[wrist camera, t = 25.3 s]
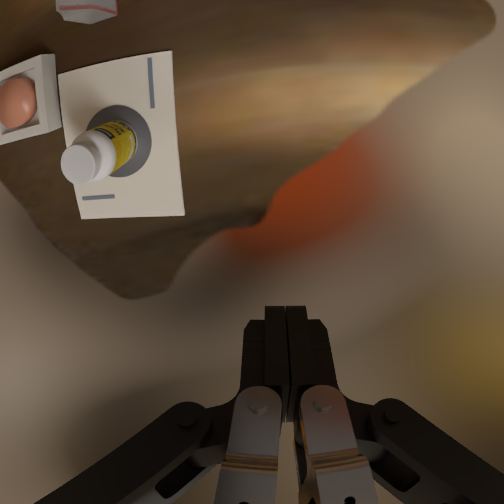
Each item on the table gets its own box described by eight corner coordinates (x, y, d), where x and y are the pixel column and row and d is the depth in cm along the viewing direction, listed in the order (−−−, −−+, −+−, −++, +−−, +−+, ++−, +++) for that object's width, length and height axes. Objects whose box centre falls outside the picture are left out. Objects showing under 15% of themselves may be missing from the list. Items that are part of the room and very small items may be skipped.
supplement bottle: (140, 120, 33) (102, 139, 25) (137, 165, 36) (102, 196, 27) (99, 118, 33) (54, 136, 24) (98, 161, 35) (56, 190, 27)
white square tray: (2, 74, 29) (-12, 77, 26) (54, 53, 28) (41, 54, 26) (10, 139, 34) (-3, 145, 31) (61, 127, 33) (48, 132, 31)
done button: (3, 84, 28) (-7, 86, 26) (36, 71, 28) (27, 72, 26) (8, 128, 31) (-1, 132, 29) (41, 119, 31) (32, 122, 29)
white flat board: (59, 74, 30) (57, 74, 29) (172, 50, 29) (170, 50, 29) (82, 218, 40) (80, 219, 40) (184, 214, 40) (184, 216, 39)
